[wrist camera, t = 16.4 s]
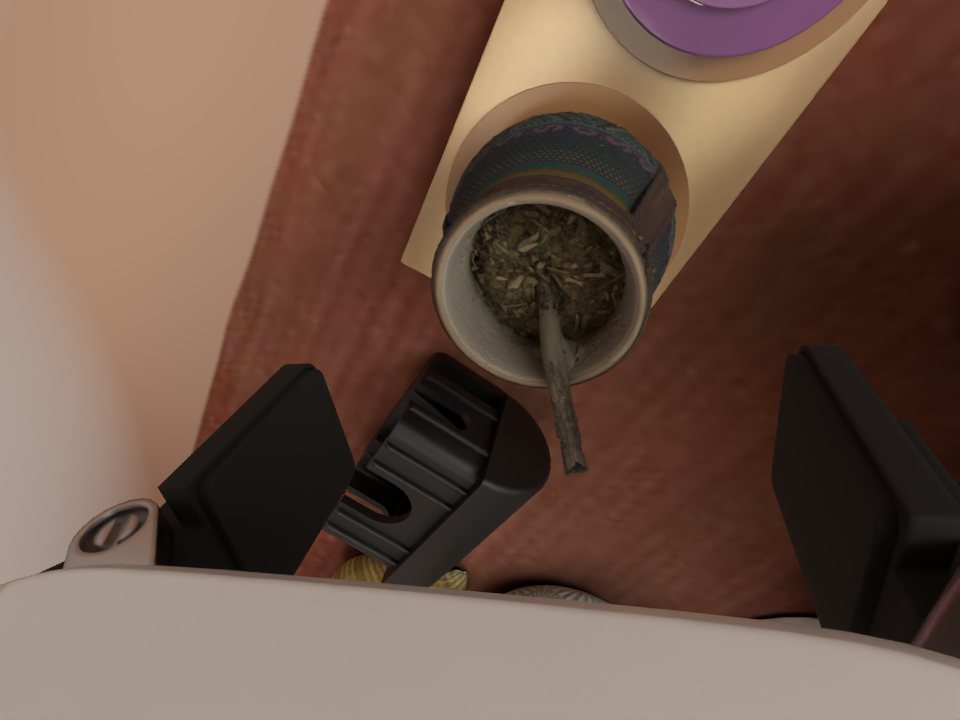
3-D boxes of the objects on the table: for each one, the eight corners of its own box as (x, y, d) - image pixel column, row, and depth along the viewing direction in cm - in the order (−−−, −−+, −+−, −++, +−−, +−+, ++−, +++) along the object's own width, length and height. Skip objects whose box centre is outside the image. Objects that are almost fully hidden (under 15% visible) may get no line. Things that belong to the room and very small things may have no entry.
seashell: (458, 507, 38) (392, 524, 31) (503, 603, 36) (444, 645, 29) (362, 564, 41) (283, 591, 34) (398, 656, 39) (321, 707, 32)
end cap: (461, 513, 32) (430, 616, 27) (361, 454, 31) (307, 548, 26) (559, 416, 27) (546, 520, 21) (442, 340, 26) (396, 428, 20)
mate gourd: (615, 50, 17) (610, 74, 8) (704, 253, 19) (767, 423, 11) (434, 168, 20) (303, 269, 12) (533, 328, 23) (483, 504, 14)
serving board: (1044, -233, 13) (1095, -263, 12) (605, 351, 24) (604, 371, 23) (698, -461, 12) (709, -522, 11) (410, 249, 24) (398, 264, 22)
